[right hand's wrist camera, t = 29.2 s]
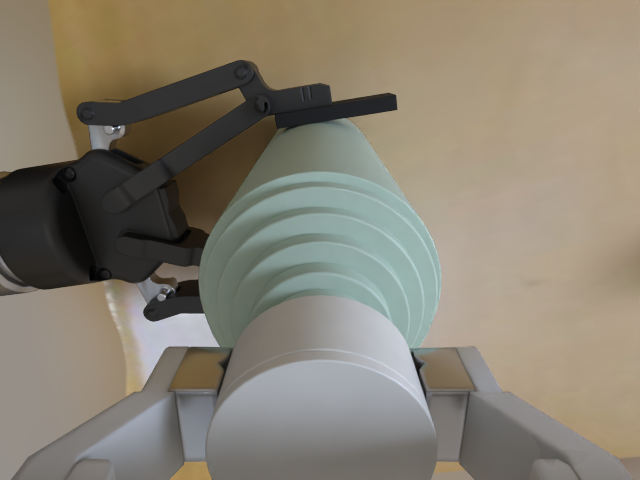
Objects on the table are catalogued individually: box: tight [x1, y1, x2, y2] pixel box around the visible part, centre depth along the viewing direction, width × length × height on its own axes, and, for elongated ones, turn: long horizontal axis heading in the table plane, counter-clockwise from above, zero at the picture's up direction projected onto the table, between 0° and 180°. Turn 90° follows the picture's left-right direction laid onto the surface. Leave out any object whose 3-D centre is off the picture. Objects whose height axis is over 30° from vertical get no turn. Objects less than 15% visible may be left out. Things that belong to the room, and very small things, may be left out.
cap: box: [205, 295, 438, 480], centre depth 9 cm, size 4×4×2 cm
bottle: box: [199, 118, 441, 350], centre depth 21 cm, size 8×8×25 cm
